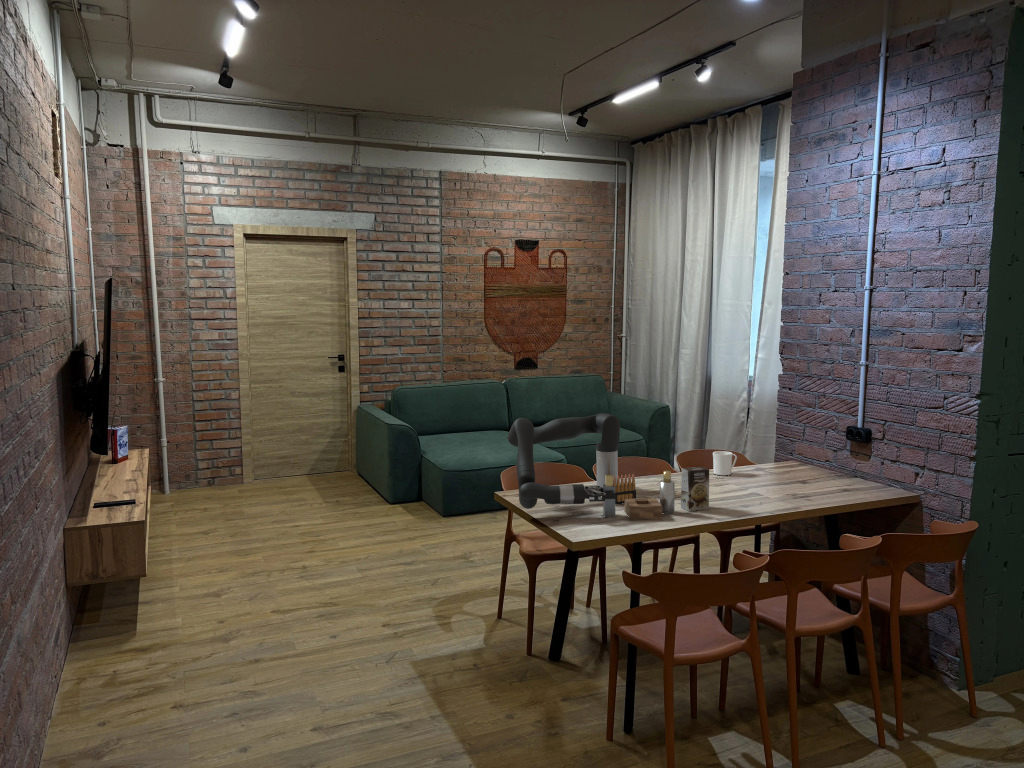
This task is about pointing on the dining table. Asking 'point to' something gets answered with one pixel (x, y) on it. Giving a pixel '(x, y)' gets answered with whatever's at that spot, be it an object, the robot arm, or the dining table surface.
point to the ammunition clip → (624, 488)
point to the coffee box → (695, 488)
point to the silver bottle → (667, 493)
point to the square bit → (609, 503)
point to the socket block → (643, 508)
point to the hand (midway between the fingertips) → (614, 493)
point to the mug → (723, 463)
